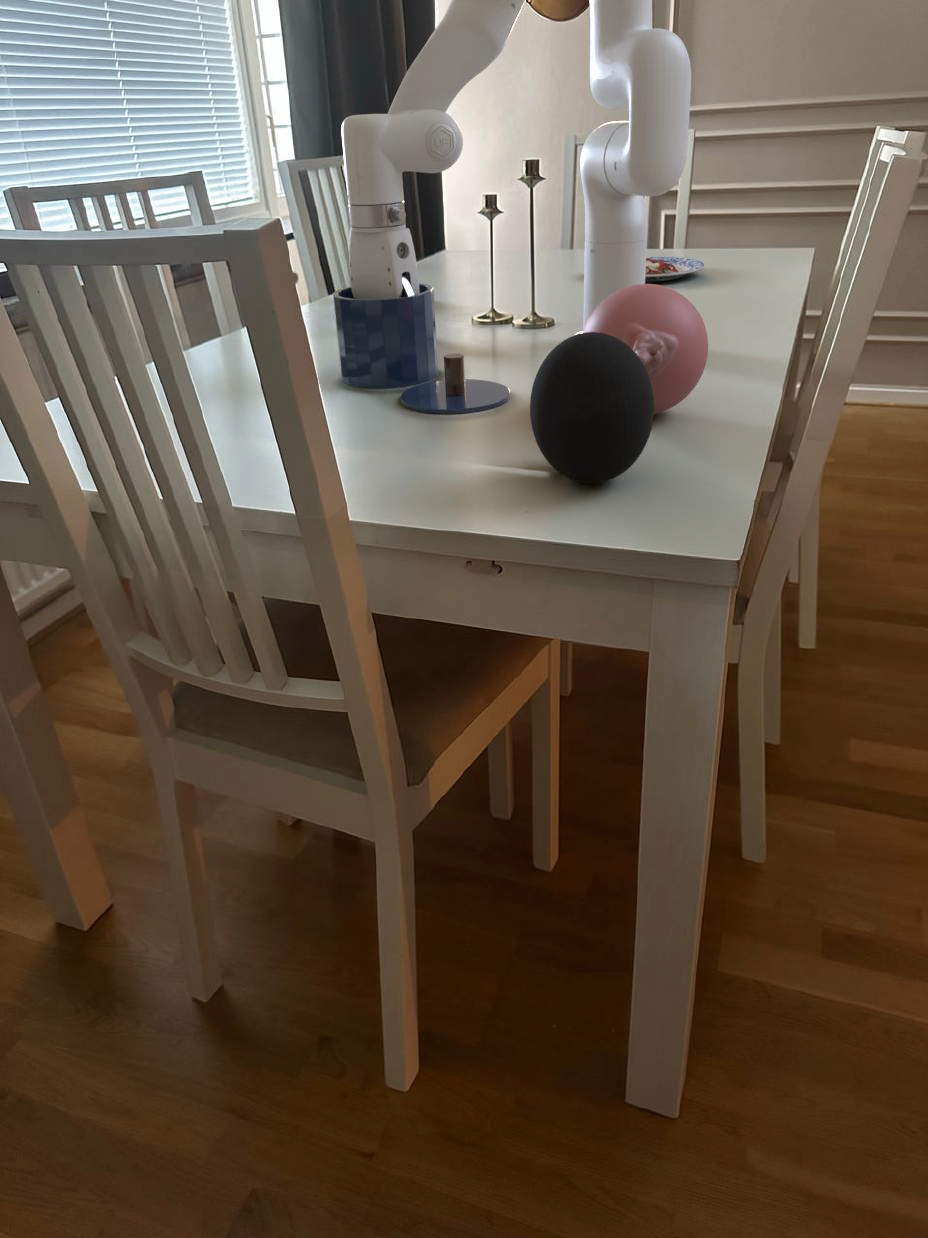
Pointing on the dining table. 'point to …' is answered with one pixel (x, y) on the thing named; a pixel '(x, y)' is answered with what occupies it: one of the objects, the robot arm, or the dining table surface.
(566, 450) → the decorative egg
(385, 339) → the pot
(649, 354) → the balloon
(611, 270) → the robot arm
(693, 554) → the dining table surface
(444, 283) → the dining table surface
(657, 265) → the ceramic plate
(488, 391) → the lid
